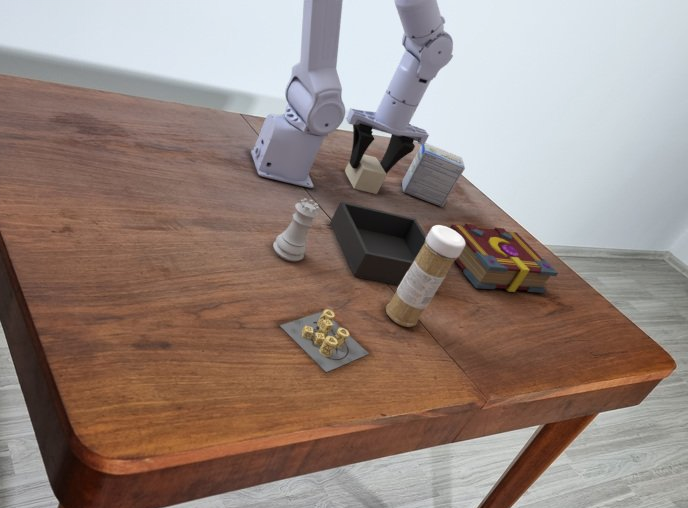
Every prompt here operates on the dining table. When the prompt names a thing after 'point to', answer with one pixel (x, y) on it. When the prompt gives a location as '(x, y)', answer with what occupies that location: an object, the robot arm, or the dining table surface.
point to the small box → (366, 174)
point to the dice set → (324, 340)
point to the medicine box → (433, 174)
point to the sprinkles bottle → (425, 275)
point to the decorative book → (501, 260)
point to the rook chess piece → (296, 232)
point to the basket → (377, 242)
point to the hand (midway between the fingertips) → (366, 169)
